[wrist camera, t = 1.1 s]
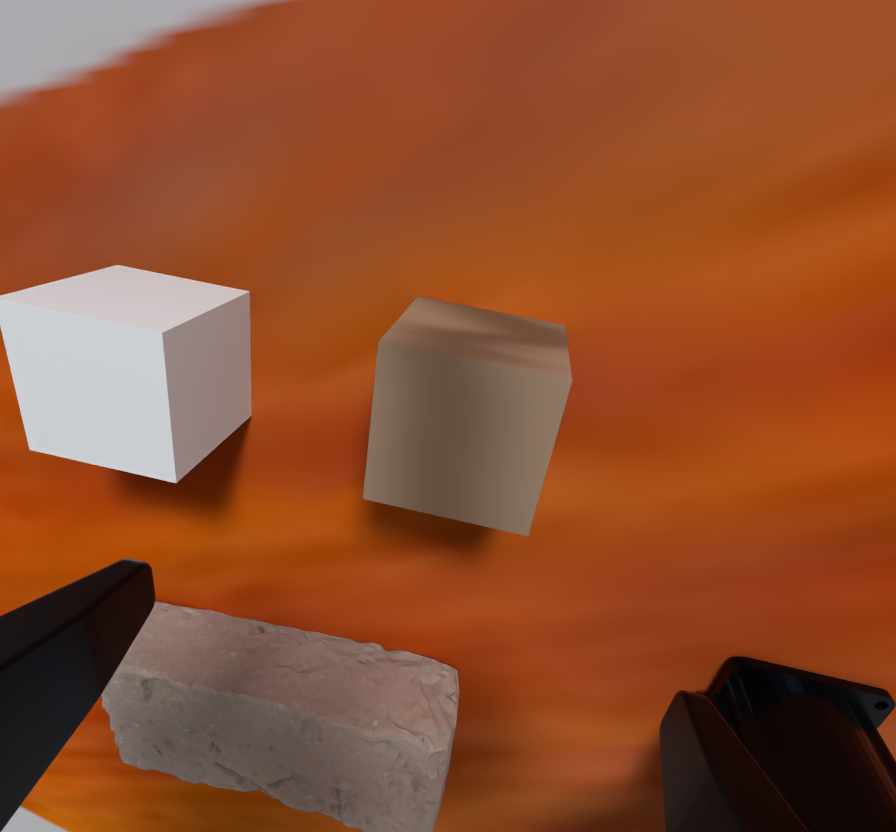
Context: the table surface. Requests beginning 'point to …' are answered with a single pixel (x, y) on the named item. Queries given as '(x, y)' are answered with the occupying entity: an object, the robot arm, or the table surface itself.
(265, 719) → the brick
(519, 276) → the table surface
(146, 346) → the white cube
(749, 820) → the robot arm
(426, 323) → the walnut cube
